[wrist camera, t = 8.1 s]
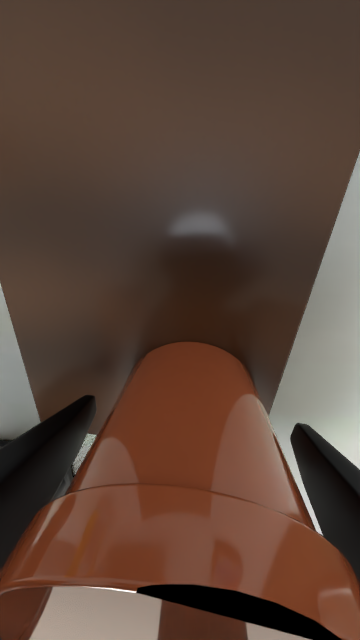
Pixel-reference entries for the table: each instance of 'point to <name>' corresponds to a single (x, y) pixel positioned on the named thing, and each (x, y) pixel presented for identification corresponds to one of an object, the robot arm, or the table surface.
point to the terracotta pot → (180, 524)
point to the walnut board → (168, 180)
